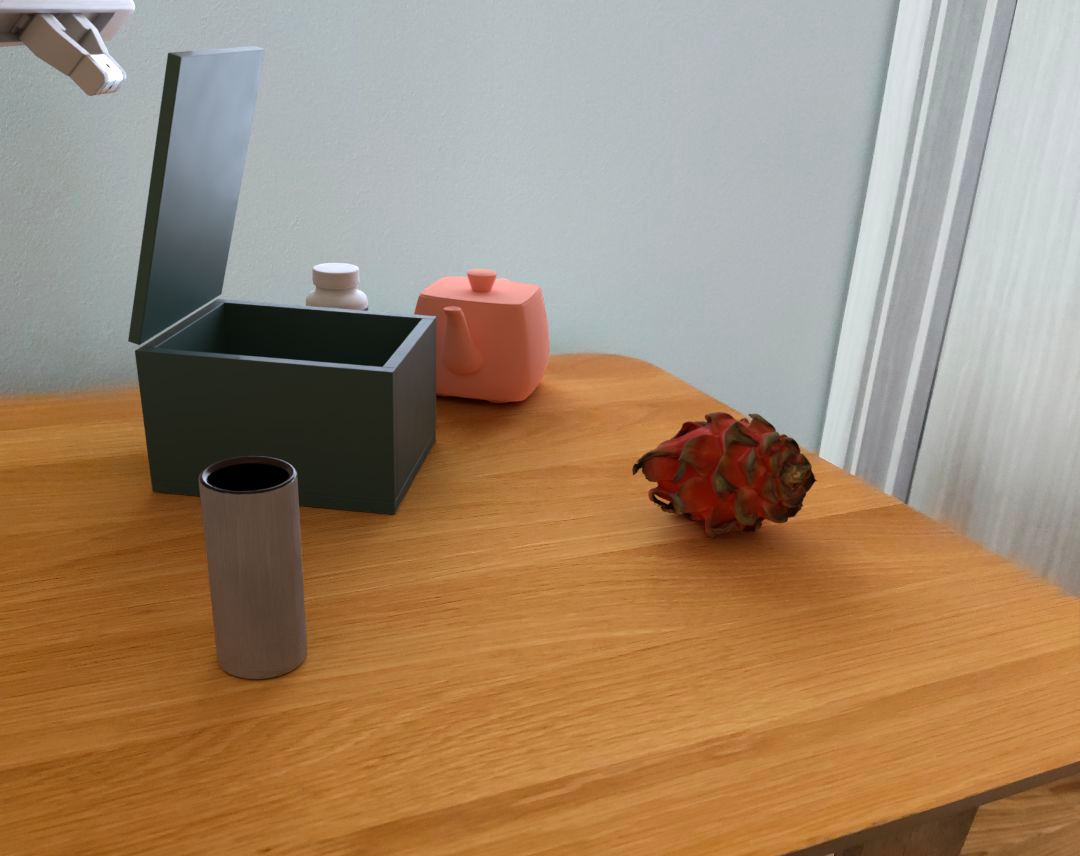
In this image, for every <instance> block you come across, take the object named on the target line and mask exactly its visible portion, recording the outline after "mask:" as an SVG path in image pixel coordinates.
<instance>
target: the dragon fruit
mask: <svg viewBox="0 0 1080 856" xmlns="http://www.w3.org/2000/svg"><path fill="white" fill-rule="evenodd" d="M748 417H749V418H751V421H749V420H748V418H746V417H743V418H741V419H739V420H738V419H736V418H735V417H734V416H733V415H731V414H730V413H728V412H722V411H719V412H709V413H707V414H705V415H704V420H705V421H704V420H701V421H699V420H696V421H685V422H684V423H682V425H681V428H680V429H679V430H678V431H677V433H676V434H675V435H674V436H672V437H670V438H669V439H667V440H664V441H662V442H660V443H659V444H658V445H657V446H656V447H654V448H653V449H651V450H649V451H647V452H646V453H644V454H643V455H642V456H641V457H640V458H639V459H637V461H636V463H633V466H632V476H634V475H636V474H637V473H638V472H639V470H640V469H641V472H642V475H644V476H645V477H644V479H645V480H647V481H648V482H651V483H657V486H656V487H653V488H649V490H648V492H647V493H648V494H647V495H648V499H649V501H650V502H652V503H653V505H657V507H658V508H660V510H661V511H662V512H665V513H668V514H674V515H675V516H677V515H679V514H683V515H684V516H685V517H686V518H687V519H689V520H692V521H697V522H699V521H705V523H704V532H705V534H706V535H707V536H709V537H711V538H712V537H715V536H717V535H721V534H725V533H729V532H730V531H731V530H732V528H733V527H736V528H737V529H738V531H739V532H740V533H742V534H751V533H752V534H753V533H755V532H756V531H759V530H760V529H761V527H762V525H763V521H765V520H766V521H769V522H772V523H773V524H784V523H788V520H789V519H790V518H795V517H796V516H797V514H798V513H799V512H800V511H801V510H802V508H803V507H804V504H803V502H804V499H805V497H806V496H807V493H808V492H809V491H810V490H811V489H812V487H813V486H814V484H815V483H816V482H817V481H818V480H817V479H816V477H815V474H814V472H813V470H812V464H811V462H810V460H809V459H808V458H807V457H806V455H805V454H804V453H801V448H800V445H799V444H798V442H797V441H796V440H795V439H794V438H793V437H790V436H788V435H786V434H785V433H783V434H780V433H779V431H777V430H776V427H775V426H774V425H773V424H772V423H771V422H769V421H768V420H767V419H766V418H764V417H763V416H762V415H760V414H758V413H748ZM635 478H636V476H635ZM657 497H658V498H660V499H663V500H665V501H668V503H666V502H664V501H662V500H660V499H658V498H657Z"/></svg>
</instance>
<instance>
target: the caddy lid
mask: <svg viewBox="0 0 1080 856" xmlns="http://www.w3.org/2000/svg"><path fill="white" fill-rule="evenodd" d="M265 52H266V50H265V48H263V47H260V46H256V45H249V46H247V45H246V46H237V47H224V48H211V49H198V50H197V49H196V50H183V51H173V52H172V51H171V52H168V53H167V58H166V64H165V73H164V79H163V86H162V87H163V88H162V93H161V101H160V108H159V115H158V121H157V130H156V138H155V144H154V150H153V151H154V152H153V159H152V166H151V171H150V172H151V173H150V178H149V179H150V181H149V187H148V195H147V200H146V201H147V202H146V209H145V217H144V224H143V231H142V238H141V246H140V252H139V260H138V267H137V274H136V281H135V288H134V295H133V303H132V309H131V317H130V324H129V331H128V338H127V341H128V342H129V343H130V344H131V343H132V344H135V345H137V346H142V345H143V344H144V343H146V342H147V341H149V340H150V339H152V338H153V337H155V336H157V335H159V334H161V333H162V332H163V331H164V330H167V329H169V328H170V327H171V326H173V325H174V324H177V323H179V321H181V320H182V319H185V318H187V316H190V314H192V313H195V312H196V310H197V311H198V309H200V308H203V306H206V304H209V303H211V302H212V301H214V299H217V298H219V296H221V295H222V294H223V287H224V284H225V283H224V282H225V277H226V271H227V265H228V261H229V260H228V259H229V255H230V249H231V243H232V238H233V232H234V226H235V221H236V215H237V209H238V205H239V204H238V203H239V197H240V192H241V186H242V181H243V177H244V175H243V174H244V171H245V164H246V158H247V153H248V147H249V141H250V137H251V130H252V125H253V121H254V120H253V119H254V113H255V109H256V103H257V97H258V91H259V85H260V81H261V74H262V69H263V63H264V57H265Z"/></svg>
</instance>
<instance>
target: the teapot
mask: <svg viewBox="0 0 1080 856" xmlns="http://www.w3.org/2000/svg"><path fill="white" fill-rule="evenodd" d="M497 274H498V273H497V272H496V271H495V270H492V269H488V268H472V269H469V270H467V271H466V275H467V276H457V275H456V276H454V275H450V276H449V275H448V276H443V277H441V278H439V279H437V280H435V281H434V282H433V283H430V285H428V286H427V287H425V288H424V289H423V290H422V291H421V292H420V293H418V297H417V301H416V304H415V307H414V308H415V309H414V311H413V314H414V315H427V316H436V396H439V397H456V398H457V397H458V398H466V399H473V400H485V401H487V402H489V403H493V404H504V403H508V402H522V401H524V400H526V399H527V398H528V397H530V396H531V394H533V392H534V391H535V390H536V389H537V388H538V386H539V385H540V383H541V381H542V380H543V378H544V375H545V373H546V371H547V368H548V365H549V361H550V331H549V322H548V316H547V310H546V304H545V299H544V295H543V290H542V288H541V286H540V285H537V284H533V283H525V282H518V281H512V280H510V279H508V278H505V277H499V278H497V276H498V275H497Z"/></svg>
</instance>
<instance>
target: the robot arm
mask: <svg viewBox="0 0 1080 856" xmlns="http://www.w3.org/2000/svg"><path fill="white" fill-rule="evenodd" d="M135 9H136V4H135V2H134V0H0V48H2V47H21V46H23V47H24V46H25V47H26V48H28V50H30V51H31V53H32V54H33V55H34V56H35V57H36V58H38V59H40V60H41V61H43V62H44V63H46V64H47V65H49V66H51V67H52V68H54V69H55V70H57V71H59V72H60V73H62V74H63V75H65V76H66V77H68V78H70V79H71V80H72V81H73V82H74V84H75V85H77V87H79V88H80V89H81V90H82V92H84V93H85V94H86V96H89V97H94V96H99V95H108V94H115V93H116V92H118V91H119V90H120V88H121V87H122V86H123V85H124V83H125V82H126V81H127V73H126V70H125V69H124V68H123V67H122V66H121V65H120V64H119V63H118V62H117V61H116V60H115V58H114V57H112V55H111V54H109V50H108V48H107V45H106V44H105V42H107V41H111V40H112V39H113V38H115V36H116V35H117V34H118V33H119V31H120V30H121V29H122V27H124V25H125V24H126V22H127V21H128V20H129V18H131V16H132V15H133V13H134V12H135Z"/></svg>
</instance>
